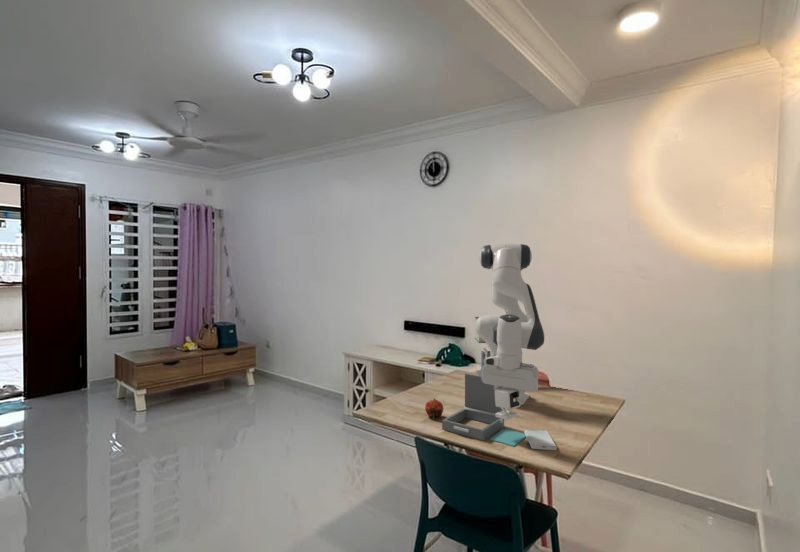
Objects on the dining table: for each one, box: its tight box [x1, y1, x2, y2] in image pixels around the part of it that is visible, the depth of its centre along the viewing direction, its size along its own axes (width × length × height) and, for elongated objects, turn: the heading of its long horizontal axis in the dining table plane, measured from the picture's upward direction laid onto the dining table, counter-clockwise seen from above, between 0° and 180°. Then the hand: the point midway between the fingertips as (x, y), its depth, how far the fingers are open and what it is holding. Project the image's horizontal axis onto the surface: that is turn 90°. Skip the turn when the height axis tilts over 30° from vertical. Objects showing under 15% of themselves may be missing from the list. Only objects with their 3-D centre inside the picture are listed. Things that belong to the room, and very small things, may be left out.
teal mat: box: [489, 428, 526, 447], centre depth 153 cm, size 12×9×1 cm
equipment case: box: [441, 373, 506, 442], centre depth 162 cm, size 19×18×18 cm
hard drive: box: [523, 429, 558, 451], centre depth 149 cm, size 2×8×12 cm
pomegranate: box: [424, 398, 444, 421], centre depth 174 cm, size 7×7×10 cm
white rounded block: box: [495, 387, 522, 421], centre depth 152 cm, size 6×7×10 cm
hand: (509, 399), depth 152 cm, fingers closed on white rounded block, 6 cm apart
